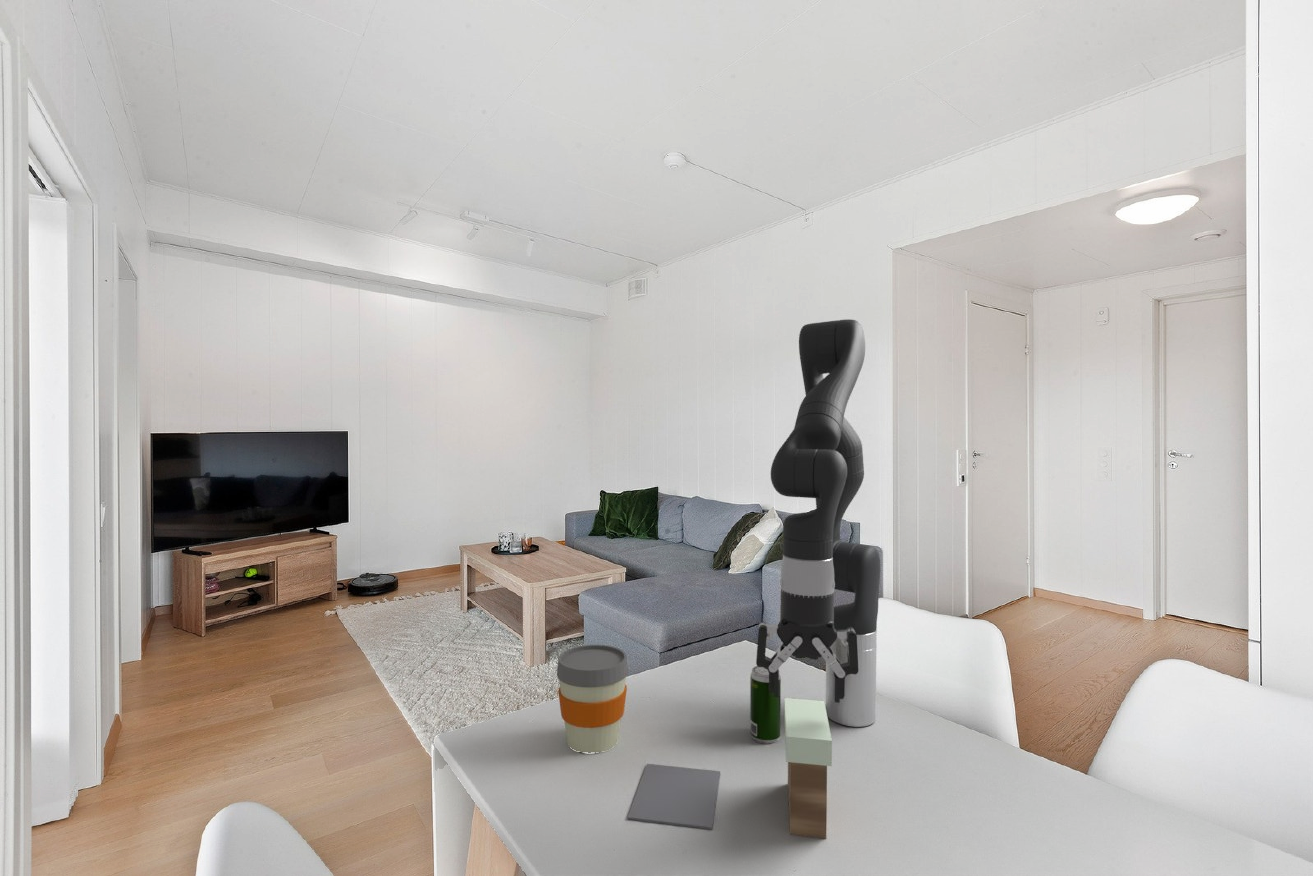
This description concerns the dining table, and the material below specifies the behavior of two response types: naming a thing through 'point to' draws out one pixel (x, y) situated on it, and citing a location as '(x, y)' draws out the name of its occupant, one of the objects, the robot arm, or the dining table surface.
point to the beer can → (764, 707)
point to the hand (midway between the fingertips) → (805, 698)
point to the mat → (676, 796)
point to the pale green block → (807, 732)
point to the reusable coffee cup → (592, 695)
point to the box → (807, 799)
